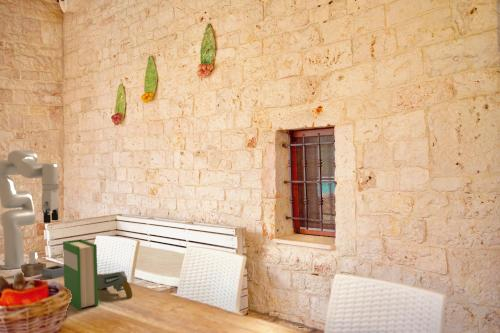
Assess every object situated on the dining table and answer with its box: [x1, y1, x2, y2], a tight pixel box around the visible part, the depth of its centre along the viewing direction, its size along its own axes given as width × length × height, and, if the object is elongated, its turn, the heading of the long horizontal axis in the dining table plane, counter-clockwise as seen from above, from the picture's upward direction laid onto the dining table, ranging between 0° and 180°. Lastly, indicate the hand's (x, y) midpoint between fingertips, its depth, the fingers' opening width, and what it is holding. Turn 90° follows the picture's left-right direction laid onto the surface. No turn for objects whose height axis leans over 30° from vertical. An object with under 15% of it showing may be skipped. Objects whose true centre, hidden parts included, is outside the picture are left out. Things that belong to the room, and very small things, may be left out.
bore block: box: [20, 261, 47, 278], centre depth 220 cm, size 8×8×5 cm
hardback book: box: [62, 239, 99, 311], centre depth 170 cm, size 18×7×24 cm, turn 40°
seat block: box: [41, 264, 64, 280], centre depth 215 cm, size 9×9×4 cm
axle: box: [28, 251, 39, 266], centre depth 220 cm, size 4×4×11 cm
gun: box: [97, 270, 133, 299], centre depth 184 cm, size 3×25×15 cm, turn 49°
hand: (51, 221), depth 215 cm, fingers open, 9 cm apart
